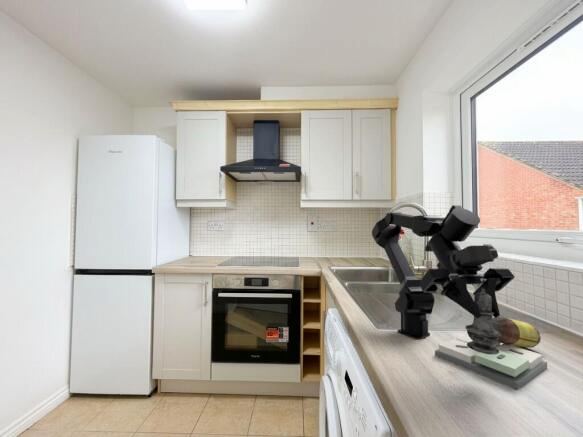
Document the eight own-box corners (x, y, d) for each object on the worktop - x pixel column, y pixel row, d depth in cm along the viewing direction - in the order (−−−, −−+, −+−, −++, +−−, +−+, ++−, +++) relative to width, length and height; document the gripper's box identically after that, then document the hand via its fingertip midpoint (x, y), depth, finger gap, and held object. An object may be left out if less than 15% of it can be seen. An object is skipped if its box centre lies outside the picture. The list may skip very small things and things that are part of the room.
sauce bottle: (519, 318, 72) (476, 304, 65) (547, 332, 67) (503, 319, 59) (508, 339, 73) (464, 327, 65) (534, 355, 67) (489, 345, 60)
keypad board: (435, 355, 64) (434, 343, 64) (468, 341, 72) (468, 330, 73) (517, 389, 50) (517, 374, 51) (547, 367, 59) (546, 354, 59)
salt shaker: (508, 355, 51) (509, 292, 51) (477, 354, 51) (478, 291, 51) (487, 342, 56) (487, 285, 57) (458, 341, 57) (459, 284, 57)
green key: (474, 367, 57) (474, 353, 57) (489, 359, 61) (489, 346, 61) (515, 383, 51) (514, 367, 51) (529, 373, 55) (528, 359, 55)
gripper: (427, 231, 57) (466, 296, 46) (506, 231, 59) (562, 294, 48) (407, 262, 65) (437, 325, 54) (478, 262, 67) (520, 322, 55)
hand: (488, 316), depth 52 cm, fingers closed on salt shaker, 4 cm apart
